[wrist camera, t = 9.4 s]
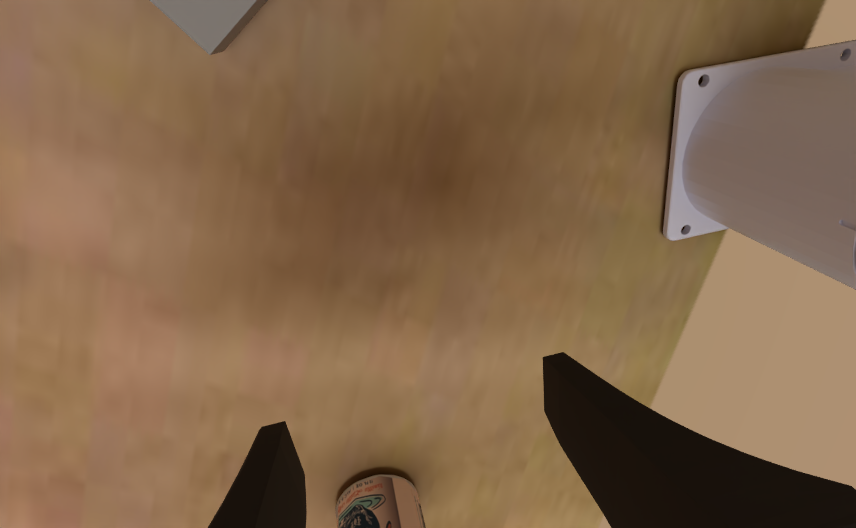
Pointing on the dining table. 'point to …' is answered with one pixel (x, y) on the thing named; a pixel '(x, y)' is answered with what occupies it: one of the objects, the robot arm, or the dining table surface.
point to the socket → (210, 19)
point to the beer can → (380, 504)
